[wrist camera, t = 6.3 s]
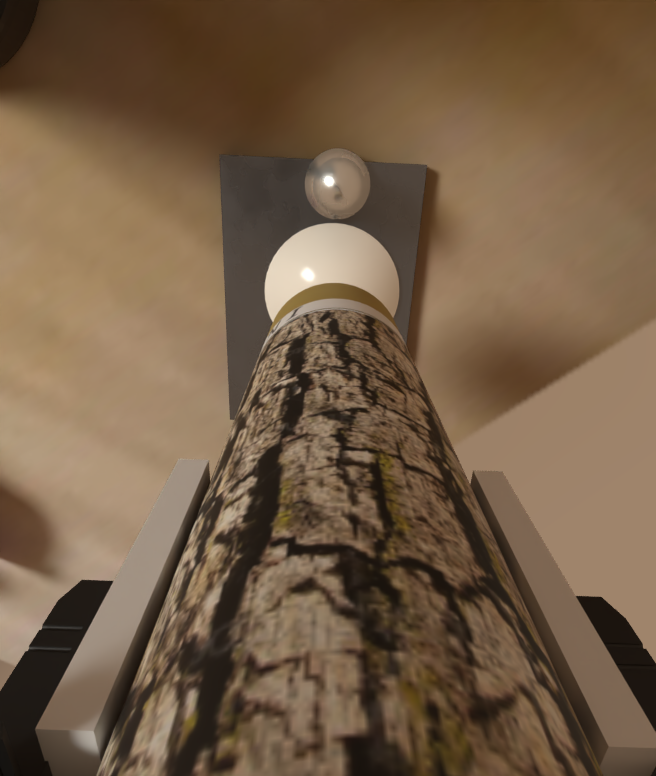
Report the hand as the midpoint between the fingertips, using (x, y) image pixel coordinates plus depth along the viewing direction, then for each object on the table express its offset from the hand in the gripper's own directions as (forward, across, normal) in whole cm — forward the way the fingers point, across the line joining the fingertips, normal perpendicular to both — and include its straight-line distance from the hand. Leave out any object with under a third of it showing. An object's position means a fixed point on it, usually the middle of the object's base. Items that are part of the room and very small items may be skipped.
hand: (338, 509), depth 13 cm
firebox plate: (+27, -1, -1) cm, 27 cm away
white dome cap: (+26, 0, 0) cm, 26 cm away
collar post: (+26, 0, +8) cm, 27 cm away
